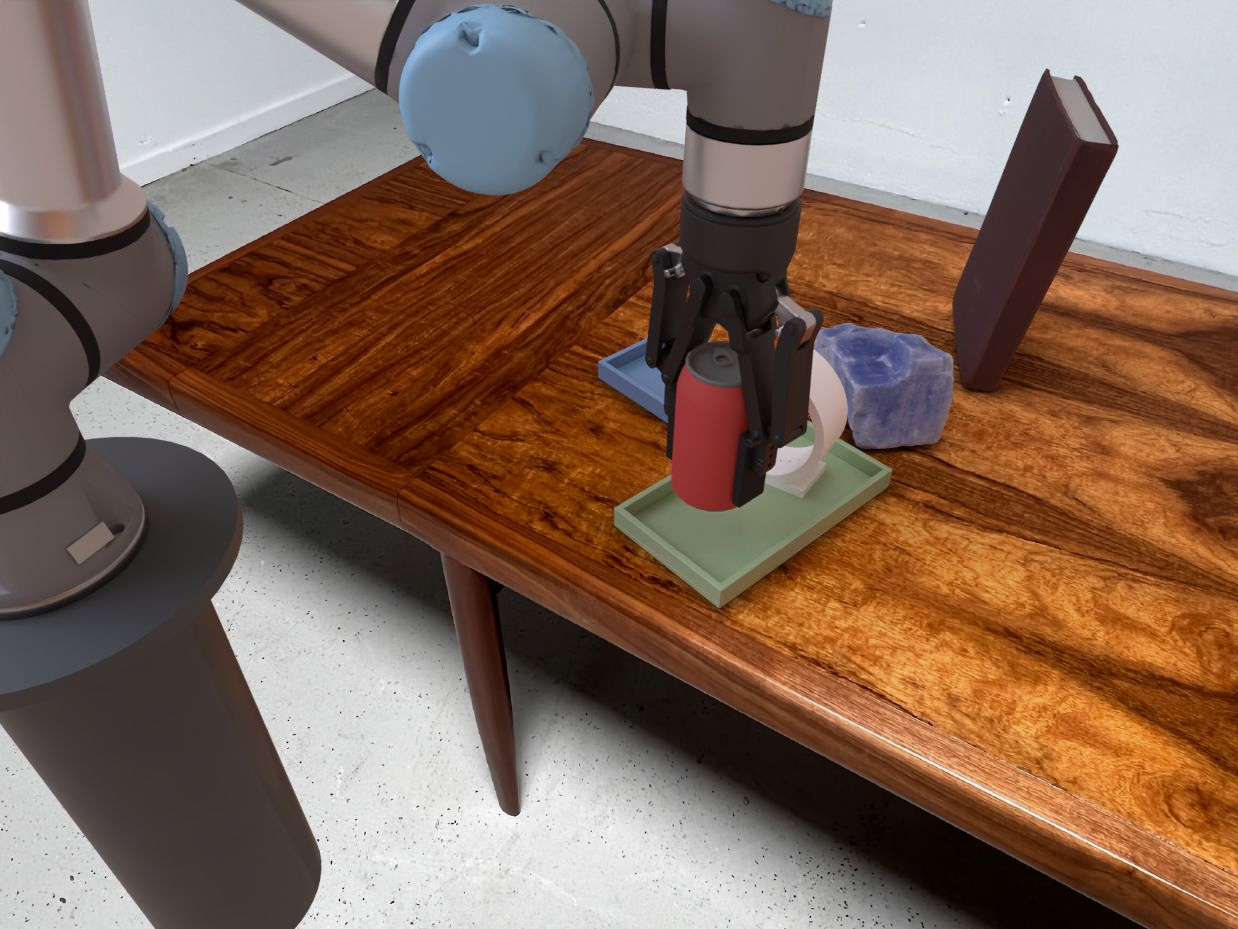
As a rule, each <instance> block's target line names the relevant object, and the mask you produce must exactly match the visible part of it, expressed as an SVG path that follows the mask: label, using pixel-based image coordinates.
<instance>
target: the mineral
mask: <svg viewBox="0 0 1238 929" xmlns="http://www.w3.org/2000/svg"><path fill="white" fill-rule="evenodd" d="M814 350H815V351H817V352H818V353H819V354H820V355H821V356H822V357H823V358H824V359H825V360H826V361H827V362H828V363H829V364H830V365H831V367H832V368H833V369H834V371H835V372H836V374H837V376H838V377H839V379H840V381H841V383H842V386H843V388H844V391H845V394H846V399H847V406H848V414H847V421H848V425H849V428H850V430H851V431H852V438H853V440H854V444H855V446H856V447H858V448H860V449H862V450H885V449H893V448H899V447H914V446H922V445H923V446H924V445H932V444H936V443H937V442H938V441H940V440H941V438H942V435H943V432H944V429H945V427H946V423H947V420H948V417H949V413H950V410H951V406H952V403H953V398H954V382H955V377H954V367H955V366H954V364H955V363H954V360H955V359H954V358H953V356H952V355H951V353H949V352H946V351H944V350H942V349H940V348H938V347H937V346H934V345H932V344H931V343H930V342H929V341H928V340H927V339H926V338H925V337H924V336H922V335H920V334H915V333H903V332H896V331H891V330H888V329H885V328H882V327H877V328H875V327H864V326H859V325H857V324H855V323H854V322H853V323H852V322H845V323H841V324H837V325H834V326H833V327H825V328H822V329H820V330H819V333H818V335H817V337H816V339H815V341H814Z"/></svg>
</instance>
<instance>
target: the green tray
mask: <svg viewBox="0 0 1238 929" xmlns="http://www.w3.org/2000/svg"><path fill="white" fill-rule="evenodd" d="M814 436H815V435H814V427H813V423H812V421H810V420H808V422H807V431H806V433H805V434H804V435H802V436H800V437H799V438H797V439H795V440H794V441H792V442H791V443H789V444H787V445H786V446H787V447H794V448H802V447H809V446H812V445H814ZM820 461H822V462H825V463H827V464H826V469H825V471H824V473H823V474H822V475H821V476H820V478H819V479H818V480H817V481H816V482H815V484H814V485H813V486H812V487H811V489H810V490H809V491H808V492H807V494H806V495H805V496H804V497H803V499H802V498H799V497H797V496H795V495H792V494H790V493H787V492H785V491H783V490H780V489H778V488H775V487H773V486H771V485H768V484H766V483H765V485H764V492H763V493H762V494H760V495H759V496H757V497H756V498H754V499H753V500H751V501H749V502H748V503H746V504H745V505H743V506H742V507H740V508H738V507H736V508H735V509H731V510H727V511H723V512H709V511H704V510H700V509H696V508H694V507H692V506H690V505H688V504H686V503H685V502H684V501H683V500H681V499H680V498H679V497H678V496H677V494H676V493H675V491H674V489H673V487H672V482H671V473H670V474H669V475H668V476H666V477H664V478H663V479H660V480H659V481H657V482H655V483H654V484H652V485H650V486H648V487H646V488H645V489H643V490H642V491H640V492H639V493H637V494H635V495H633V496H632V497H629V498H628V499H626V500H625V501H623V502H621V503H620V504H618V505H617V506H614V508H613V525H614V527H616V528H617V529H618V530H619V531H620V532H622V534H624V535H625V536H627V537H628V538H629V539H631V540H632V541H633V542H635V543H636V544H637V545H638V546H639V547H640V548H642V549H643V550H644V551H646V552H647V553H648V554H649V555H651V557H653V558H655V559H656V560H657V561H658V562H660V563H661V564H662V565H663V566H665V567H666V568H667V569H669V570H670V571H671V572H672V573H674V574H675V575H676V576H678V577H679V578H680V579H681V580H682V581H684V582H685V583H686V584H687V585H689V586H690V587H691V588H692V589H693V590H695V591H696V592H697V593H699V594H700V595H701V596H703V597H704V598H705V599H706V600H708V601H709V602H710V603H711V604H712V605H713V606H715V607H717V609H719V610H720V609H722V607H724V606H726V605H727V604H728V603H729V602H731V601H732V600H734V599H735V598H736V597H738V596H739V595H741V594H742V593H743V592H745V591H746V590H747V589H749V588H750V587H752V586H753V585H754V584H757V582H759V581H760V580H761V579H763V578H765V577H766V576H767V575H768V574H769V573H771V572H773V571H774V570H775V569H777V568H778V567H779V566H782V564H784V563H785V562H786V561H787V560H789V559H791V558H792V557H793V556H795V555H797V553H799V552H800V551H801V550H803V549H804V548H806V547H807V546H808V545H810V544H811V543H812V542H814V541H815V540H817V539H819V538H820V537H821V536H822V535H824V534H825V533H826V532H828V531H829V530H830V529H832V528H833V527H835V526H836V525H837V524H839V523H840V522H842V521H843V520H844V519H846V518H847V517H849V516H850V515H852V514H853V513H854V512H856V511H857V510H859V509H860V508H861V507H863V506H864V505H865V504H866V503H868V502H869V501H871V500H873V499H874V498H875V497H876V496H878V495H879V494H880V493H882V492H883V491H885V490H886V489H887V488H889V487H890V482H891V479H892V474H893V469H892V468H891V467H889V466H887V465H886V464H884V463H882V462H880V461H879V460H877V459H875V458H874V457H873V456H870V455H868V454H867V453H865V452H863V451H862V450H860V449H858V448H857V447H855V446H853V445H851V444H850V443H848V442H846V441H844V440H842V438H839V439H838V440H837V441H836V442H835V444H834V445H833V446H832V447H831V448H830V450H829V451H828V452H827V453H826V454H825V456H824V457H823V458H822V459H821V460H820Z"/></svg>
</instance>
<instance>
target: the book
mask: <svg viewBox="0 0 1238 929" xmlns="http://www.w3.org/2000/svg"><path fill="white" fill-rule="evenodd" d="M1119 148H1120V145H1119V140H1118V139H1117V136H1116V134H1115V133H1114V131H1113V129H1112V127H1111V126H1110V124H1109V122H1108V120H1107V119H1106V116H1105V115H1104V113H1103V111H1102V109H1101V108H1100V107H1099V105H1098V104H1097V102H1096V100H1095V98H1094V96H1093V94H1092V92H1091V91H1090V90H1089V88H1088V85H1087V84H1086V81H1085V80H1084V79H1083V77H1081V76H1079V75H1076V74H1075V75H1074V76H1073V78H1072V79H1068V78H1063V77H1059V76H1054V75H1051V70H1050V69H1049V68H1045V70H1044V71H1043V73H1042V74H1041V77H1040V79H1039V81H1038V83H1037V86H1036V88H1035V90H1034V93H1033V95H1032V97H1031V99H1030V102H1029V105H1028V107H1027V110H1026V112H1025V114H1024V116H1023V120H1022V121H1021V124H1020V127H1019V130H1018V132H1017V135H1016V137H1015V139H1014V142H1013V145H1012V148H1011V150H1010V153H1009V155H1008V158H1007V160H1006V163H1005V165H1004V168H1003V170H1002V173H1001V176H1000V178H999V181H998V183H997V186H996V188H995V191H994V193H993V196H992V199H991V201H990V205H989V206H988V208H987V212H986V214H985V216H984V219H983V221H982V224H981V226H980V229H979V231H978V233H977V236H976V239H975V241H974V243H973V246H972V247H971V251H970V252H969V255H968V257H967V260H966V263H965V264H964V268H963V270H962V272H961V275H960V278H959V280H958V282H957V285H956V287H955V290H954V293H953V295H952V304H951V307H952V320H953V327H954V337H955V338H954V339H955V345H956V352H957V359H958V365H959V371H960V377H961V381H962V384H963V386H964V387H965V388H966V389H970V390H975V391H983V392H986V393H990V392H994V391H995V390H997V388H998V387H999V385H1000V383H1001V381H1002V379H1003V378H1004V376H1005V373H1006V371H1007V370H1008V368H1009V366H1010V364H1011V362H1012V361H1013V359H1014V356H1015V355H1016V354H1017V352H1018V349H1019V348H1020V346H1021V344H1022V342H1023V340H1024V338H1025V335H1026V334H1027V332H1028V329H1029V328H1030V327H1031V323H1033V320H1034V318H1035V316H1036V314H1037V313H1038V310H1039V309H1040V307H1041V305H1042V303H1043V302H1044V299H1045V297H1046V295H1047V293H1048V291H1049V289H1050V287H1051V286H1052V283H1053V282H1054V280H1055V278H1056V276H1057V274H1058V272H1059V270H1060V268H1061V266H1062V264H1063V262H1064V260H1065V258H1066V256H1067V254H1068V253H1069V250H1070V249H1071V247H1072V245H1073V243H1074V241H1075V239H1076V237H1077V235H1078V234H1079V231H1080V228H1081V226H1082V224H1083V222H1084V220H1085V219H1086V217H1087V214H1088V212H1089V210H1090V208H1091V206H1092V204H1093V202H1094V201H1095V198H1096V196H1097V194H1098V192H1099V190H1100V188H1101V186H1102V183H1103V182H1104V180H1105V178H1106V176H1107V174H1108V172H1109V170H1110V168H1111V167H1112V165H1113V163H1114V160H1115V159H1116V156H1117V154H1118V151H1119Z"/></svg>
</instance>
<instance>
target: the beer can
mask: <svg viewBox="0 0 1238 929" xmlns="http://www.w3.org/2000/svg"><path fill="white" fill-rule="evenodd" d="M685 361H686V363H685V365H684V367H683V369H682V371H681V373H680V376H679V379H678V382H677V390H676V407H675V423H674V439H673V455H672V460H671V471H670V472H671V473H670V474H671V482H672V487H673V489H674V491H675V493H676V494H677V496H678V497H679V498H680V499H681V500H683V501H684V502H685V503H686V504H688V505H690V506H692V507H694V508H696V509H700V510H704V511H709V512H723V511H727V510H731V509H735V508H736V507H737V506H735V505H734V504H733V503H732V498H733V490H734V481H735V473H736V465H737V457H738V449H739V440H740V435H741V434H743V433H745V432H747V431H748V430H749V425H748V418H747V412H746V406H745V400H744V394H743V388H742V381H741V375H740V369H739V363H738V357H737V353H736V352H735V351H732V349H731V347H730V342H729V340H713V341H711V342H707V343H703V344H701V345H699V346H696V347H695V348H693V349H692V350H691V351H690V352H689V353H688V355H687V357H686V360H685Z"/></svg>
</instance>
